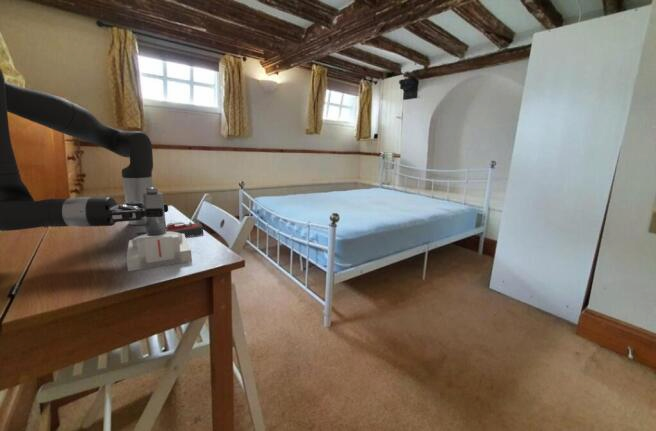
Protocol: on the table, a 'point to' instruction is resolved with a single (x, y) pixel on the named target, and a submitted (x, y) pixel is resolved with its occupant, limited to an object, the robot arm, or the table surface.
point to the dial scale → (157, 251)
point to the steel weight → (154, 200)
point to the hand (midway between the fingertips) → (165, 210)
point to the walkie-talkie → (182, 228)
